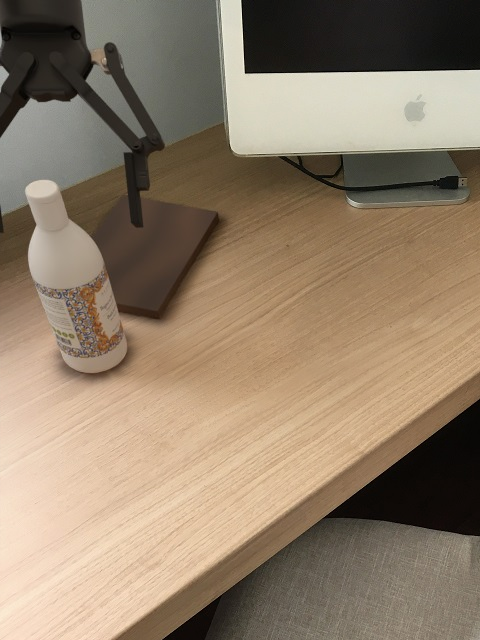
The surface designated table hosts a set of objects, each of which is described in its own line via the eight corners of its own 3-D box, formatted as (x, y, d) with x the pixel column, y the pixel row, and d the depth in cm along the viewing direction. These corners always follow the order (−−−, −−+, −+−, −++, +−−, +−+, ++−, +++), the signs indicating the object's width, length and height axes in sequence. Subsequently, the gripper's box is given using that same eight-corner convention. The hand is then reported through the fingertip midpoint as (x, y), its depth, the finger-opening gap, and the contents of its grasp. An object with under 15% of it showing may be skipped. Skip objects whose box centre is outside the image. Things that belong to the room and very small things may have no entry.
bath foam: (114, 380, 84) (61, 216, 68) (52, 369, 85) (-14, 204, 68) (137, 337, 88) (93, 173, 72) (79, 327, 89) (22, 161, 73)
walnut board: (54, 298, 91) (51, 290, 90) (125, 202, 103) (123, 194, 102) (159, 319, 90) (157, 311, 89) (219, 219, 102) (218, 211, 101)
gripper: (-122, -27, 69) (-84, 225, 72) (167, -28, 72) (190, 215, 75) (-83, 12, 76) (-50, 239, 80) (178, 10, 79) (199, 229, 82)
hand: (67, 228), depth 77 cm, fingers open, 13 cm apart
